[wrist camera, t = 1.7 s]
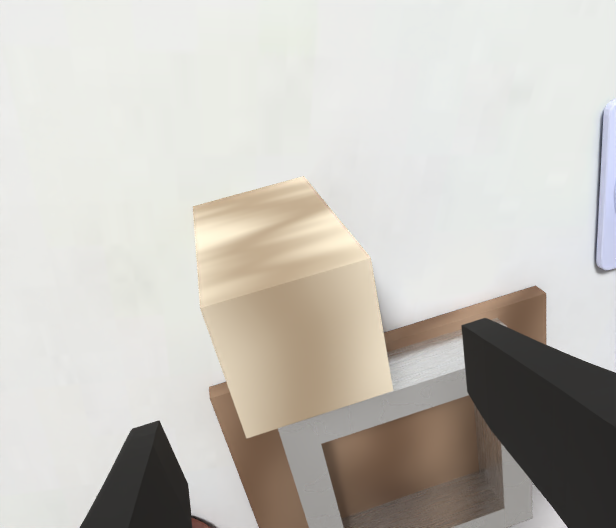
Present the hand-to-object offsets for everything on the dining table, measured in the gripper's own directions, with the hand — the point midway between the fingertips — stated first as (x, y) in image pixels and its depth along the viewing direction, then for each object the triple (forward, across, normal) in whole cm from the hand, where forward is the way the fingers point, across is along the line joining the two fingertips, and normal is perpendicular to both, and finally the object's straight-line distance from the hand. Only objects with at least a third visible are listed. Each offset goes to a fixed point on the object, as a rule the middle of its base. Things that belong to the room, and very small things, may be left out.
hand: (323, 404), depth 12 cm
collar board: (+10, -4, +12) cm, 16 cm away
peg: (+10, 0, 0) cm, 10 cm away
